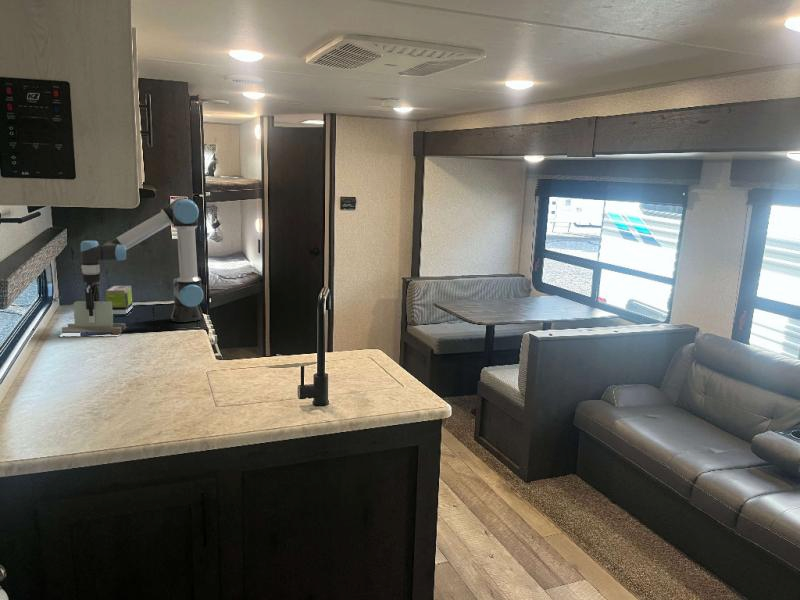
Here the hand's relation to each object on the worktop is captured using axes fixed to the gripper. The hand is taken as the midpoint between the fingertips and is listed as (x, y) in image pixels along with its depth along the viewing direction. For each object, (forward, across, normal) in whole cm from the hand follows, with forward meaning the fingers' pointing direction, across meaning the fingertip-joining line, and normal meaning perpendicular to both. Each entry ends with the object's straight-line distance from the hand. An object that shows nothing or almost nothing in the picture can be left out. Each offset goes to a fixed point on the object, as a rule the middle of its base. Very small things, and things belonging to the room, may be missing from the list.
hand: (94, 321), depth 294 cm
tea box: (+6, -45, 0) cm, 45 cm away
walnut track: (+6, 0, 0) cm, 6 cm away
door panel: (+5, 0, 0) cm, 5 cm away
